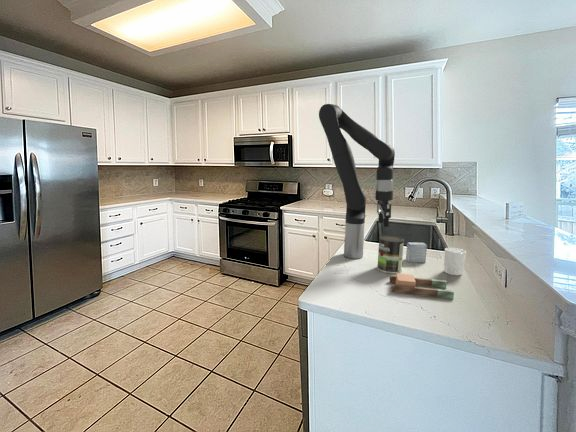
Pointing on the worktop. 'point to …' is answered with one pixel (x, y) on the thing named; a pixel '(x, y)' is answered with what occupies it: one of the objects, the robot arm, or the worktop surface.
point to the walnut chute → (423, 291)
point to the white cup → (454, 261)
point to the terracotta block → (405, 280)
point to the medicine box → (416, 252)
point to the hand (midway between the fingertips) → (383, 224)
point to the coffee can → (390, 254)
